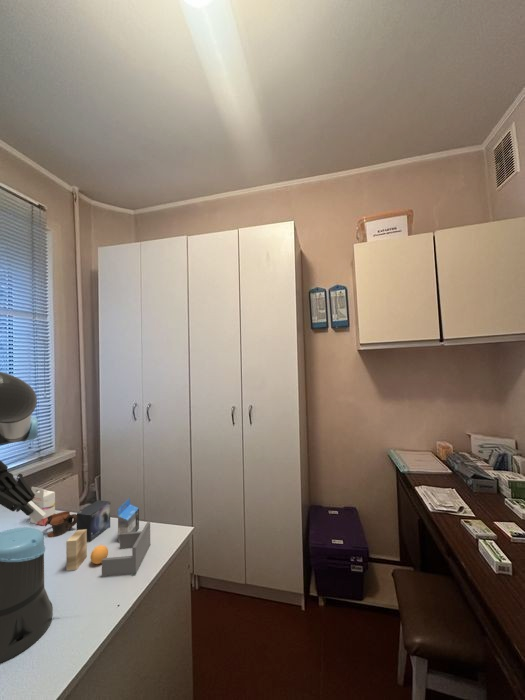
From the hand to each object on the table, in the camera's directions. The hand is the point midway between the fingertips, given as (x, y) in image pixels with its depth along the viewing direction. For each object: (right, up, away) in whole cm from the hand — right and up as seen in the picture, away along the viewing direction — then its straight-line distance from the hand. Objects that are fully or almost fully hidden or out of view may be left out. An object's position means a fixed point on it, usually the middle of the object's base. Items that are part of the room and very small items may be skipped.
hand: (41, 518), depth 92 cm
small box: (+7, -16, +17) cm, 25 cm away
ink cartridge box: (-21, -18, +28) cm, 39 cm away
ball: (+18, -15, +1) cm, 24 cm away
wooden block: (+11, -15, 0) cm, 19 cm away
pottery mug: (-7, -17, +20) cm, 27 cm away
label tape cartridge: (+21, -16, +15) cm, 30 cm away
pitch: (+20, -15, +1) cm, 25 cm away
